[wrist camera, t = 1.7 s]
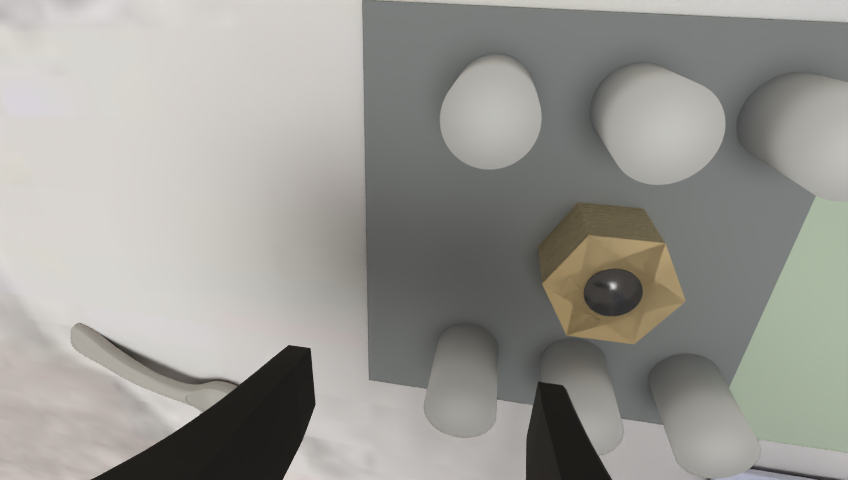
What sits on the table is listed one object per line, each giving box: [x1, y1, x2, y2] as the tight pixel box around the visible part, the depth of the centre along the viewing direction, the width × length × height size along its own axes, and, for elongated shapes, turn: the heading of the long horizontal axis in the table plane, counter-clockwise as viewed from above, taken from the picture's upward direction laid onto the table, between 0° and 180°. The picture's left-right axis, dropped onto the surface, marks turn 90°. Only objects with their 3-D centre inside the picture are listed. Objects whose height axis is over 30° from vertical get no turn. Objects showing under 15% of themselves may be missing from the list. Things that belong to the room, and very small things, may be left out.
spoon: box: [71, 323, 238, 413], centre depth 28 cm, size 3×12×2 cm, turn 68°
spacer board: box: [362, 0, 848, 479], centre depth 18 cm, size 18×26×4 cm
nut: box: [538, 202, 686, 344], centre depth 18 cm, size 4×5×3 cm
